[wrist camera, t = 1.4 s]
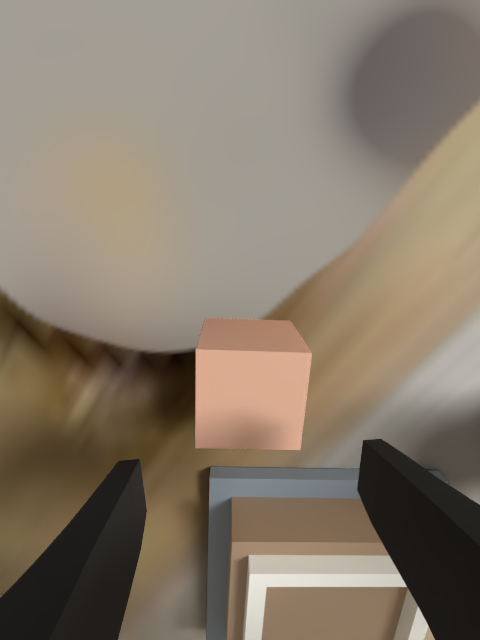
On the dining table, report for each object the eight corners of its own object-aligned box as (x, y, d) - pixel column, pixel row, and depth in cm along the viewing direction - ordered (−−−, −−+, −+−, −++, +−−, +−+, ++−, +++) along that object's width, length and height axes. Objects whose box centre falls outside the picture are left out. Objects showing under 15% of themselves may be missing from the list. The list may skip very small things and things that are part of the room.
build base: (439, 470, 21) (500, 540, 16) (395, 624, 25) (434, 716, 21) (210, 466, 20) (204, 538, 15) (206, 625, 25) (201, 720, 20)
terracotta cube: (290, 320, 18) (312, 352, 13) (283, 395, 19) (300, 449, 14) (205, 317, 17) (195, 349, 13) (204, 393, 19) (195, 448, 14)
